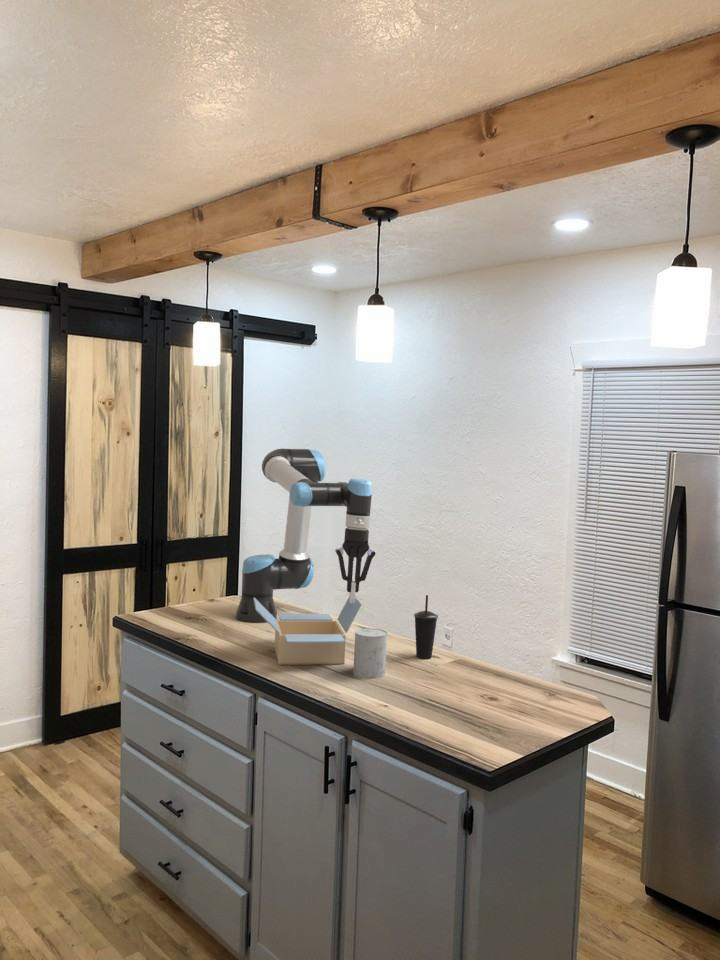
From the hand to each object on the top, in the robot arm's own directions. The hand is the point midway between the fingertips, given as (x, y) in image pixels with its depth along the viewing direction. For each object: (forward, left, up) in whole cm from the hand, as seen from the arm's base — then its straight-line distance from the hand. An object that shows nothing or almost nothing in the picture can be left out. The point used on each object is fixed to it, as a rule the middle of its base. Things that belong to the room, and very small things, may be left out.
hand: (351, 602), depth 241 cm
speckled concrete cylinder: (+18, +3, -18) cm, 25 cm away
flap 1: (0, -27, -4) cm, 27 cm away
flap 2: (0, -1, -3) cm, 3 cm away
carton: (0, -13, -17) cm, 22 cm away
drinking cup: (+2, +24, -17) cm, 30 cm away
